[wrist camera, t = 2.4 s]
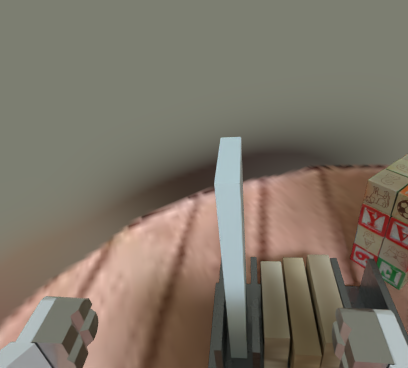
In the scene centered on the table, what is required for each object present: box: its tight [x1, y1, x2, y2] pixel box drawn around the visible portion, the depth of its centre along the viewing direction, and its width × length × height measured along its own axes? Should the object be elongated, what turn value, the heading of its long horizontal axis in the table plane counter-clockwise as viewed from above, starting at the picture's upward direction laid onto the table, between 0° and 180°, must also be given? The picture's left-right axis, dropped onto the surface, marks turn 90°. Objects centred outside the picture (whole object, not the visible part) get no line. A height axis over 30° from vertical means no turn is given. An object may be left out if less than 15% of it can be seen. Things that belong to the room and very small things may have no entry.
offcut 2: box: [282, 258, 322, 368], centre depth 30 cm, size 2×10×5 cm, turn 174°
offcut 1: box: [261, 261, 290, 368], centre depth 30 cm, size 2×8×6 cm, turn 174°
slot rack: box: [208, 257, 408, 368], centre depth 30 cm, size 17×11×6 cm, turn 84°
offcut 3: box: [305, 255, 343, 368], centre depth 30 cm, size 2×9×6 cm, turn 174°
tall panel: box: [214, 137, 247, 359], centre depth 27 cm, size 2×6×20 cm, turn 174°
